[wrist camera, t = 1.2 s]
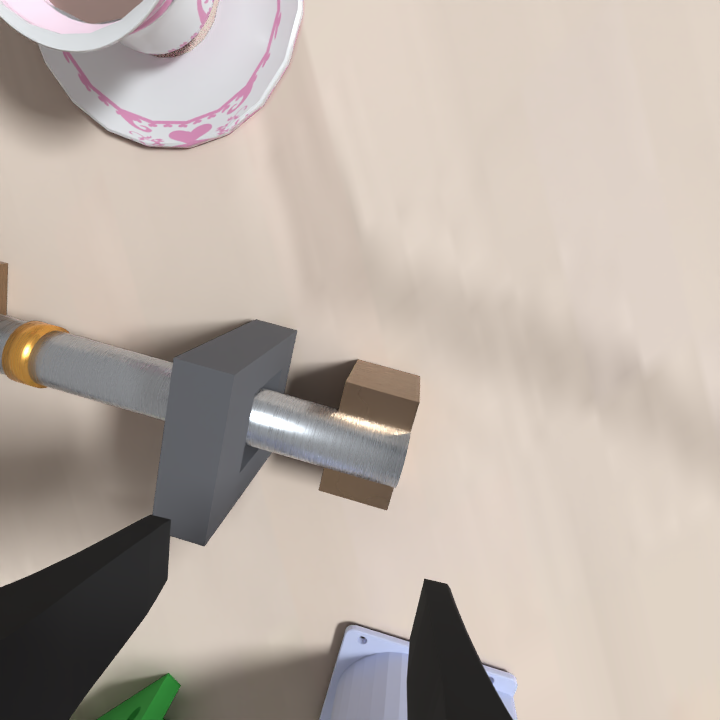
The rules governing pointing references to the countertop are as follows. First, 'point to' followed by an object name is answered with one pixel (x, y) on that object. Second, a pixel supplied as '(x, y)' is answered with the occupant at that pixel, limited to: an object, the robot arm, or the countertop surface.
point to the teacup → (162, 61)
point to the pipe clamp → (147, 702)
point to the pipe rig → (269, 410)
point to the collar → (216, 425)
